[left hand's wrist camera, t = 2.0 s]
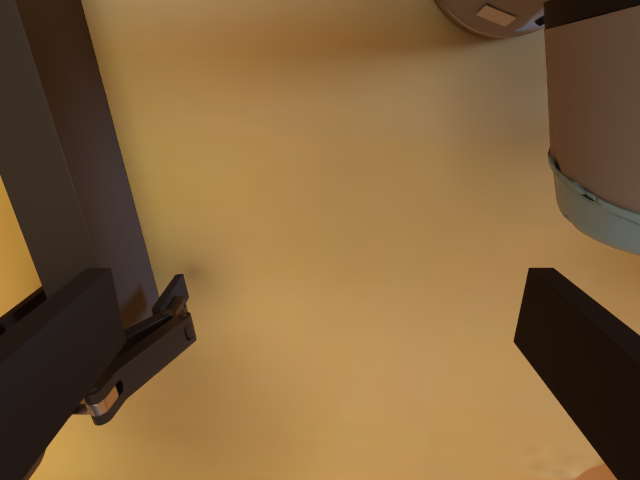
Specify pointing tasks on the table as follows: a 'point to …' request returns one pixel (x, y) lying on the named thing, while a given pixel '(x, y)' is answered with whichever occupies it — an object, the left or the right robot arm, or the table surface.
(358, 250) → the table surface
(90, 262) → the bar
